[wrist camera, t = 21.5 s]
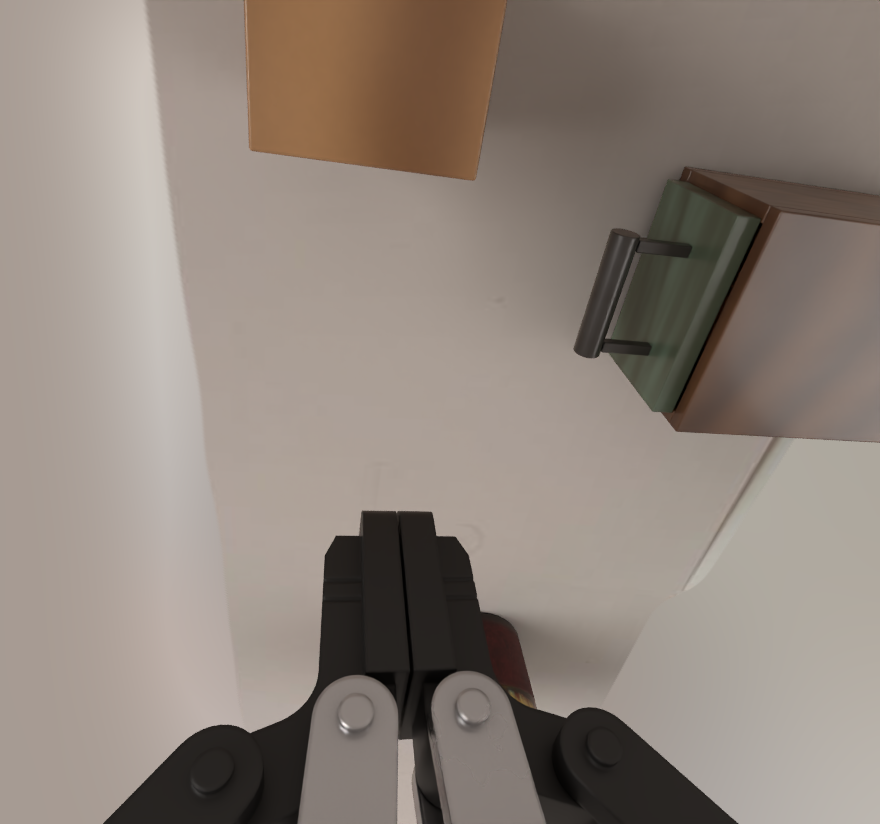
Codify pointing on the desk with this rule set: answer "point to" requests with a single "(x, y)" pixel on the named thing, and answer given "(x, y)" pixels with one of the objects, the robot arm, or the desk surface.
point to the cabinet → (793, 319)
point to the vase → (508, 658)
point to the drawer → (667, 290)
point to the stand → (373, 81)
